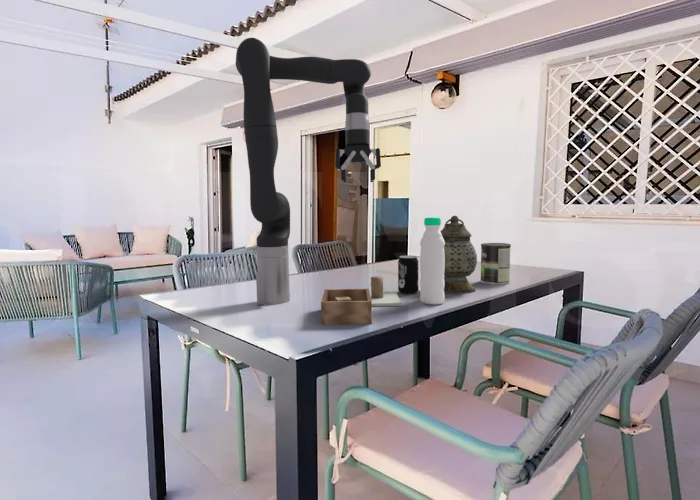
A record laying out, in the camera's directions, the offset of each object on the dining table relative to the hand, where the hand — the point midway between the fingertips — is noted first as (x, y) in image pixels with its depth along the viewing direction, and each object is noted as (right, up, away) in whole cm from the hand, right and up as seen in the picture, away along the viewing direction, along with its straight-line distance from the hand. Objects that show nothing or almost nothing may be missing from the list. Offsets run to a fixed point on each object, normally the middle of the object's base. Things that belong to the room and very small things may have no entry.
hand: (358, 182), depth 135 cm
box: (-3, -39, -25) cm, 46 cm away
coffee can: (+51, -34, +22) cm, 64 cm away
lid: (+6, -36, -7) cm, 38 cm away
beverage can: (+17, -36, +6) cm, 40 cm away
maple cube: (-4, -38, -21) cm, 43 cm away
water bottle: (+22, -37, -9) cm, 44 cm away
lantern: (+33, -35, +9) cm, 49 cm away
